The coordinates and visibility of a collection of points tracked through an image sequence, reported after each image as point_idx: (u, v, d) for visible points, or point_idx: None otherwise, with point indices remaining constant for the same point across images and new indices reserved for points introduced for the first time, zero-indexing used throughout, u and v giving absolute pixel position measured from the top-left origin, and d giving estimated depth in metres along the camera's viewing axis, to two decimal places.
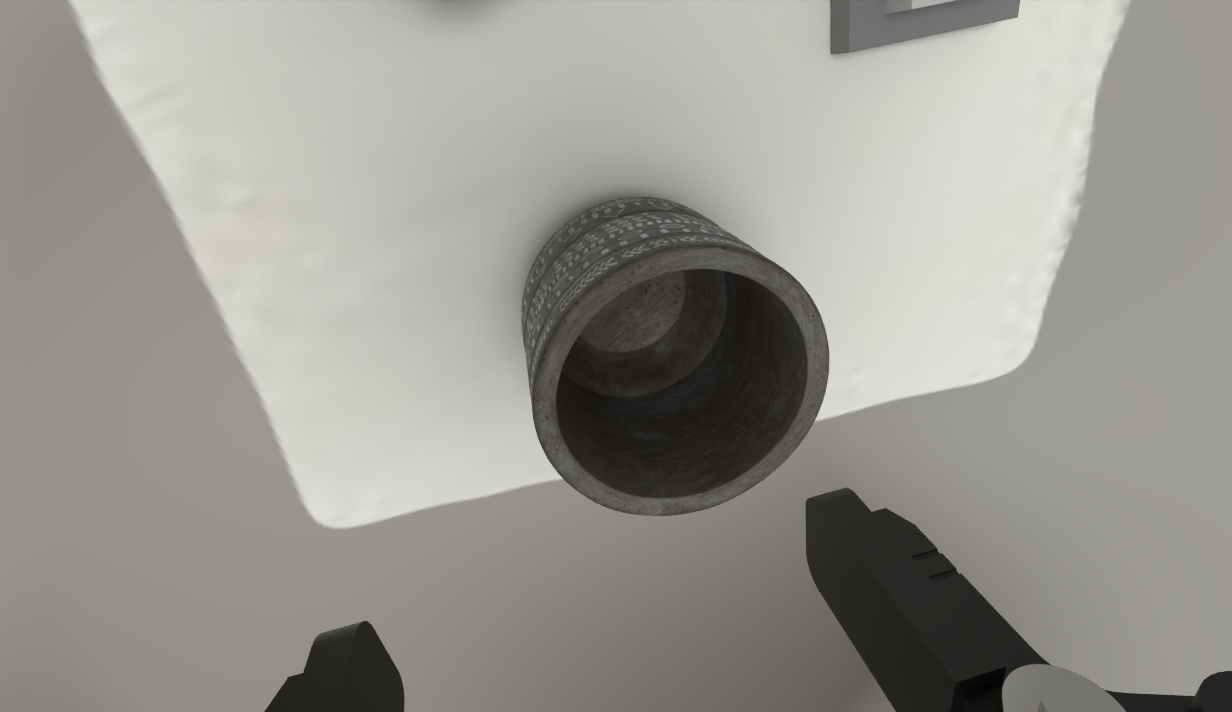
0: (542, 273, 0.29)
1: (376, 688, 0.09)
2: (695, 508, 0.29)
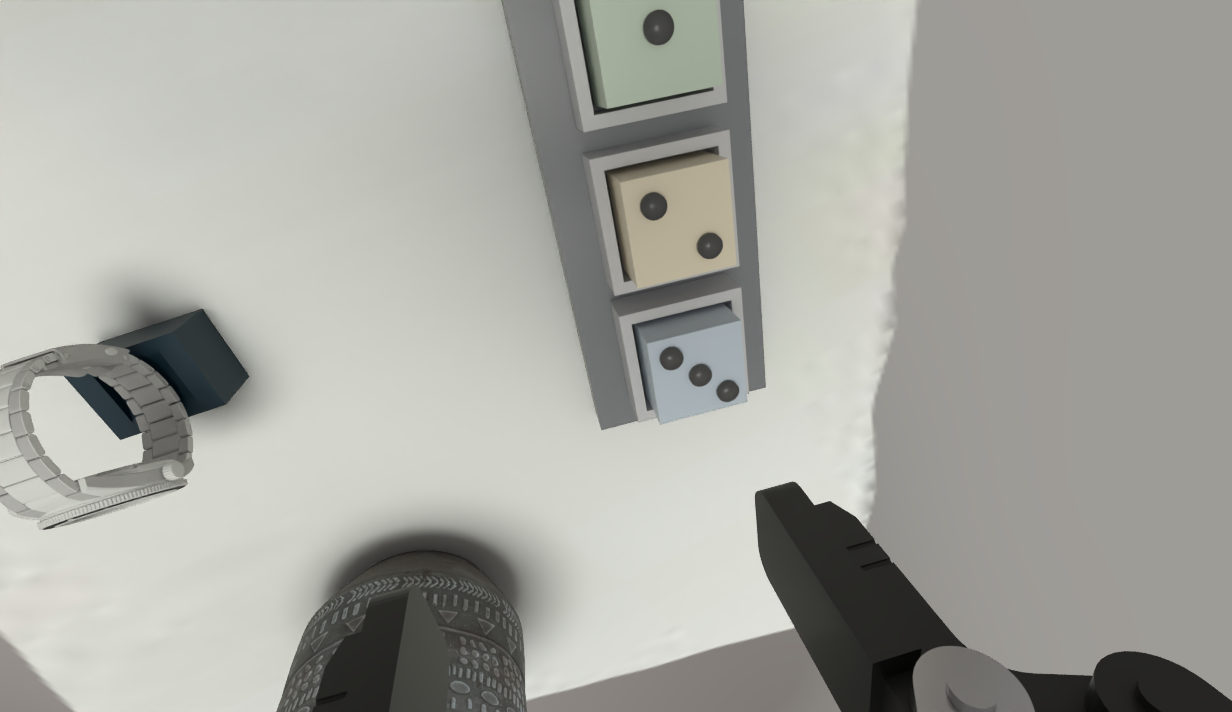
0: (290, 675, 0.32)
1: (427, 649, 0.10)
2: None
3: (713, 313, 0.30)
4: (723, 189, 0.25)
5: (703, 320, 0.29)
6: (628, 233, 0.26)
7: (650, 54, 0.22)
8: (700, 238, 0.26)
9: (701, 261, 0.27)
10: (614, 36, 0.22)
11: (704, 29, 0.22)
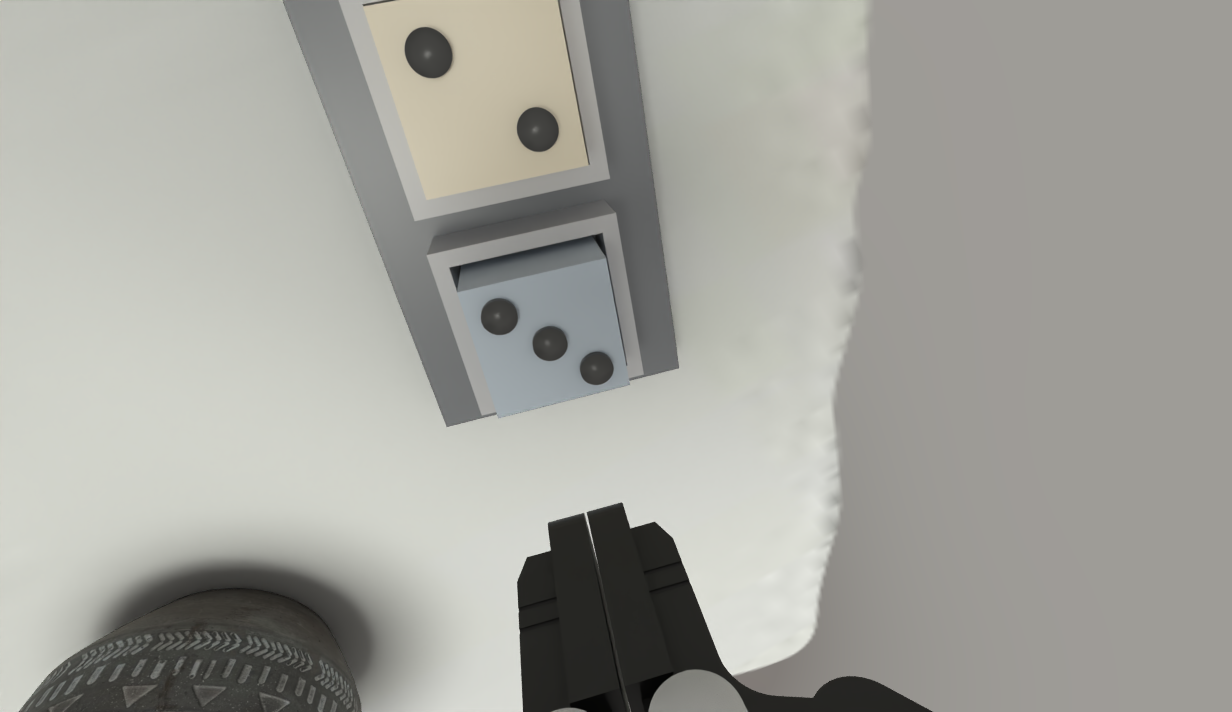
0: None
1: (597, 570, 0.10)
2: None
3: (574, 251, 0.20)
4: (550, 30, 0.15)
5: (554, 260, 0.19)
6: (395, 103, 0.16)
7: None
8: (520, 116, 0.16)
9: (528, 157, 0.17)
10: None
11: None
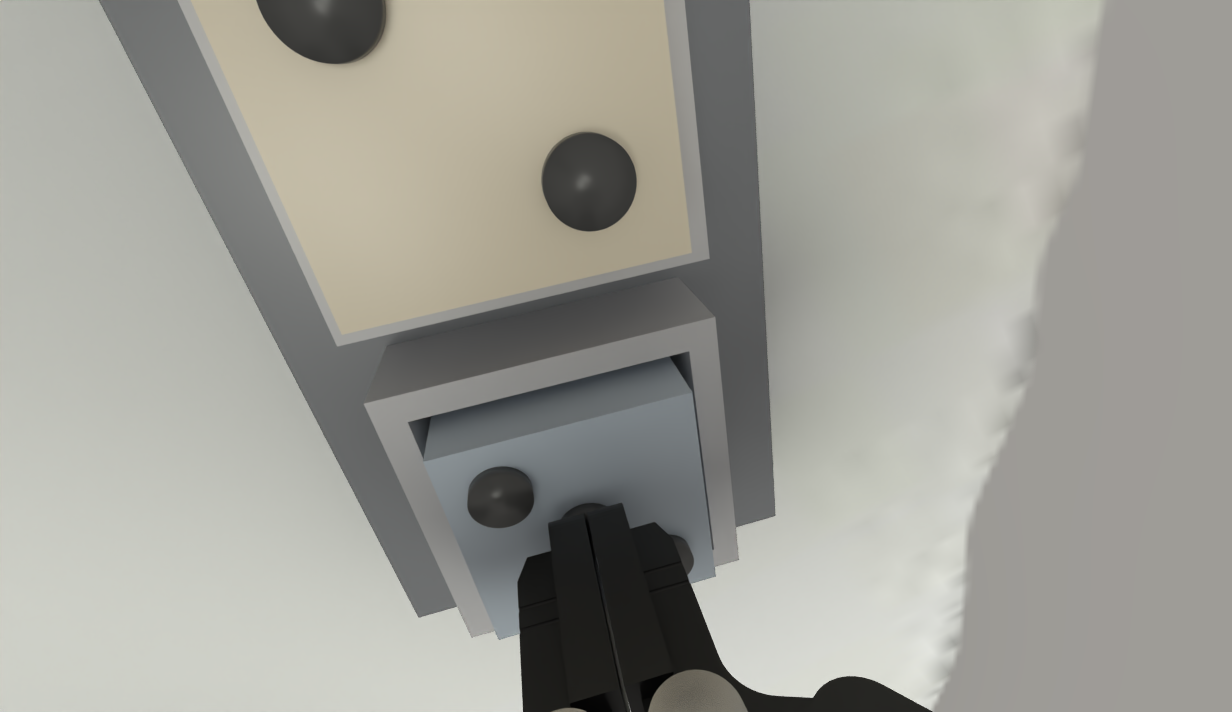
0: None
1: (597, 570, 0.10)
2: None
3: None
4: None
5: (596, 386, 0.11)
6: (251, 124, 0.06)
7: None
8: (550, 152, 0.07)
9: (566, 240, 0.08)
10: None
11: None
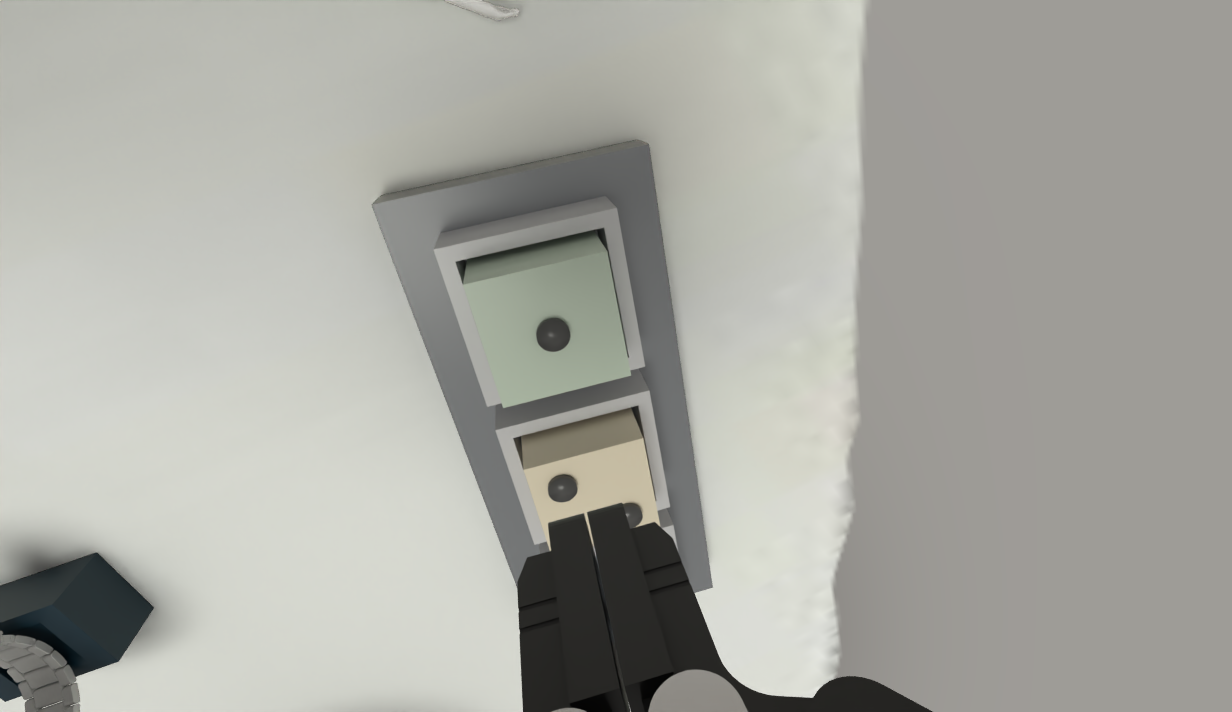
0: None
1: (597, 570, 0.10)
2: None
3: None
4: (640, 464, 0.23)
5: None
6: (537, 511, 0.24)
7: (547, 356, 0.20)
8: None
9: None
10: (504, 344, 0.20)
11: (606, 329, 0.20)
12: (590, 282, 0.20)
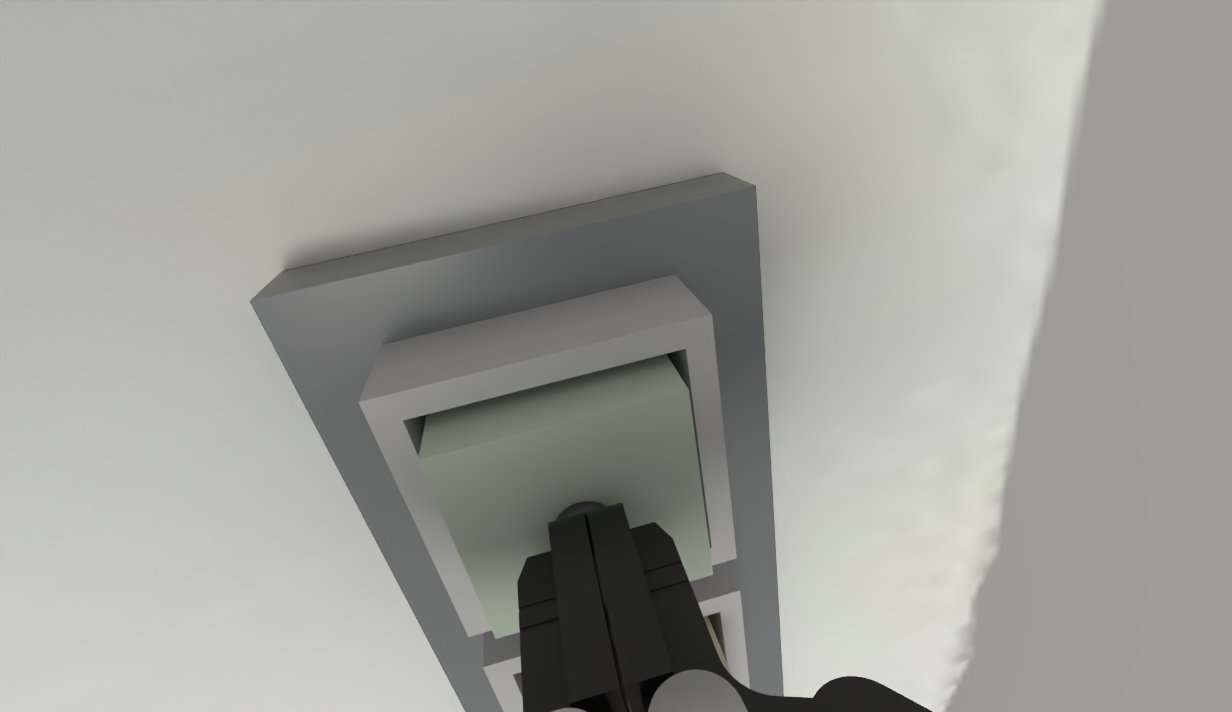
0: None
1: (598, 570, 0.10)
2: None
3: None
4: None
5: None
6: None
7: None
8: None
9: None
10: (498, 548, 0.11)
11: (677, 512, 0.12)
12: (655, 442, 0.11)
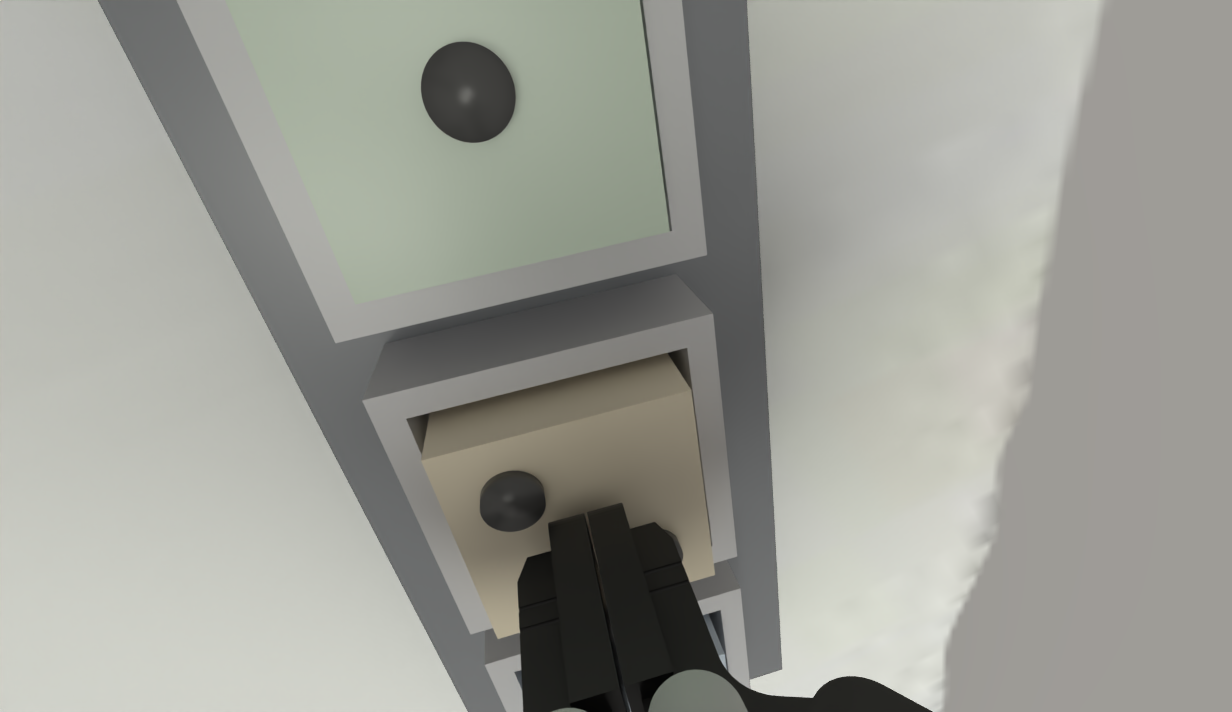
0: None
1: (597, 570, 0.10)
2: None
3: None
4: (681, 450, 0.11)
5: None
6: (461, 549, 0.11)
7: (458, 164, 0.08)
8: None
9: None
10: (338, 118, 0.07)
11: (611, 94, 0.08)
12: None
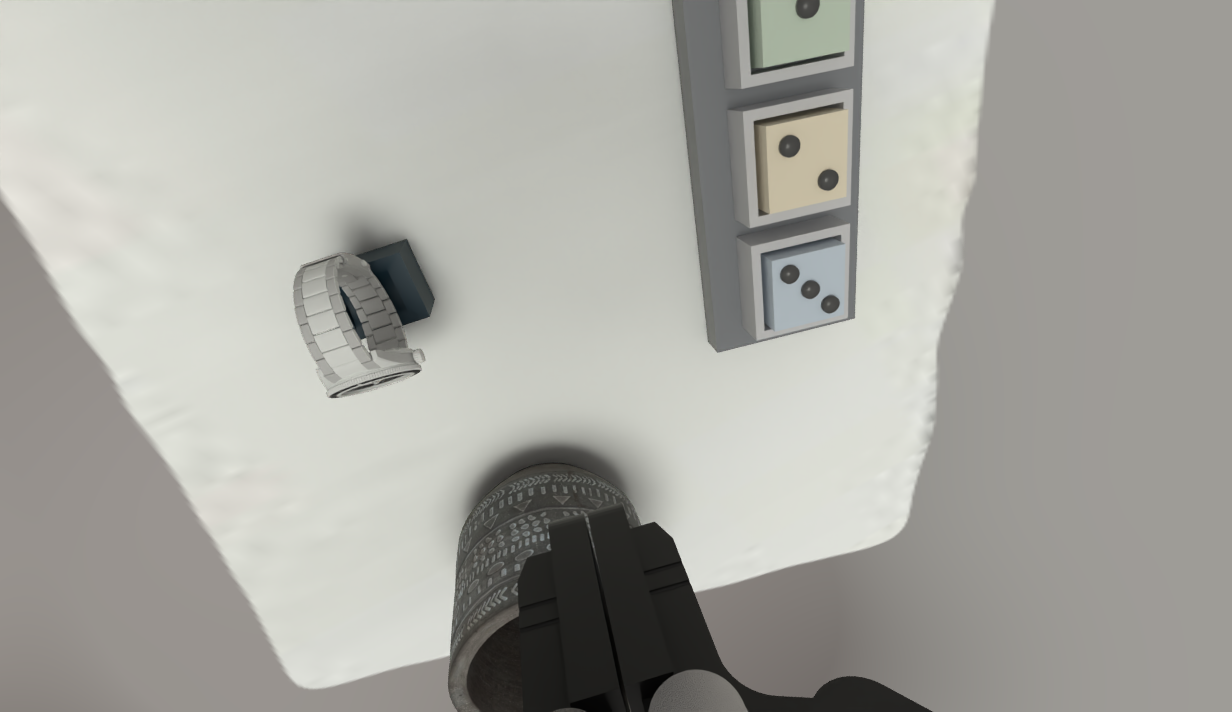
0: (467, 550, 0.38)
1: (597, 570, 0.10)
2: None
3: (820, 240, 0.37)
4: (842, 134, 0.33)
5: (813, 245, 0.36)
6: (767, 168, 0.33)
7: (799, 25, 0.30)
8: (821, 173, 0.33)
9: (820, 193, 0.34)
10: (774, 11, 0.29)
11: (840, 6, 0.30)
12: None
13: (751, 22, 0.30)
